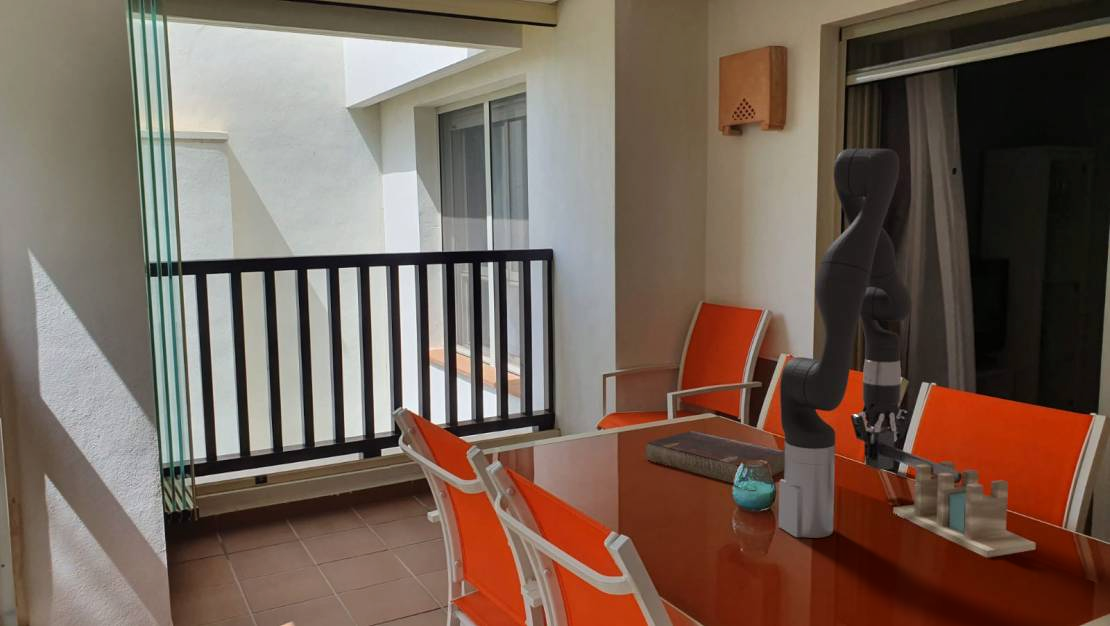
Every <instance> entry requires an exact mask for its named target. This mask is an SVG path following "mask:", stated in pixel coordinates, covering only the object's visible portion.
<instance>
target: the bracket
mask: <svg viewBox="0 0 1110 626" xmlns="http://www.w3.org/2000/svg"><path fill="white" fill-rule="evenodd" d="M938 464H940V465H943V466H945V467H948V468H951V469H953V470H955V469H956V468H955V467H956V463H955V462H952V461H950V460H949V461H948V460H947V461H941V462H939V463H938ZM961 474H962V478H961V484H955V483H954V475H953V474H950V473H941V474H938V477H937V476H935V475H932V474H931V466H929V465H927V464H922V465H916V468H915V479H914V481H915V486H914V487H915V488H914V504H910V505H902V506H895V507H893V509H892V510H893V512H892V513H893V514H894V513H895V514H894V515H896V514H897V515H896V516H898V517H900V518H902V519H904V518H905V519H904V520H906V519H907V521H908V520H909V521H908V522H910V523H912V524H915V525H917V526H919V527H921V528H923V529H926V530H928V531H929V532H932V533H934V534H936V535H938V536H940V537H942V538H944V539H946V540H948V541H951V542H952V543H955V544H956V545H959V546H961V547H963V548H965V549H967V550H970V551H971V552H974V553H976V554H978V555H980V556H982V557H984V558H993V557H999V556H1004V555H1005V556H1006V555H1012V554H1015V553H1016V554H1017V553H1023V552H1029V551H1034V550H1036V542H1035V541H1032V540H1029V539H1027V538H1025V537H1022V536H1020V535H1017V534H1016V533H1013V532H1011V531H1009V530H1007V517H1008V515H1007V514H1008V513H1007V512H1008V495H1009V492H1008V491H1009V482H1008V481H1005V480H1003V479H1000V480H999V479H998V480H991V482H990V483H991V484H990V495H986V496H984V497H983V495H984V485H982V484H979V471H977V470H974V469H965V470H962V472H961ZM959 493H966V509H965V532H964V533H963V532H961V531H958V530H956V529H954V528H951V527H949V524H950V495H952V494H959Z"/></svg>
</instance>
